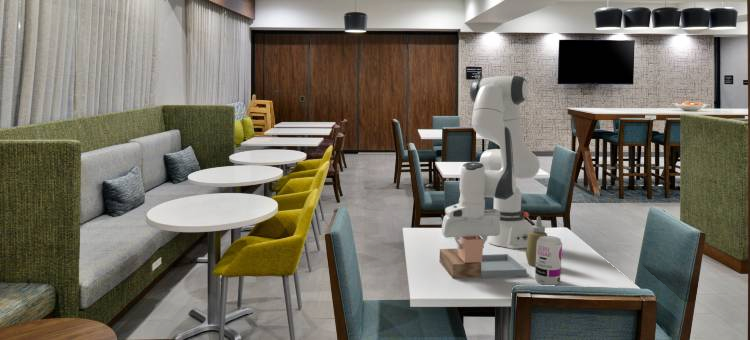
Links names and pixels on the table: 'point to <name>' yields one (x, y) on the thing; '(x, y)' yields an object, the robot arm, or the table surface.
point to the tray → (500, 266)
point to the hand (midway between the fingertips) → (470, 248)
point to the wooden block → (458, 265)
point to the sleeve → (471, 249)
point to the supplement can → (548, 260)
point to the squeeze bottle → (534, 241)
